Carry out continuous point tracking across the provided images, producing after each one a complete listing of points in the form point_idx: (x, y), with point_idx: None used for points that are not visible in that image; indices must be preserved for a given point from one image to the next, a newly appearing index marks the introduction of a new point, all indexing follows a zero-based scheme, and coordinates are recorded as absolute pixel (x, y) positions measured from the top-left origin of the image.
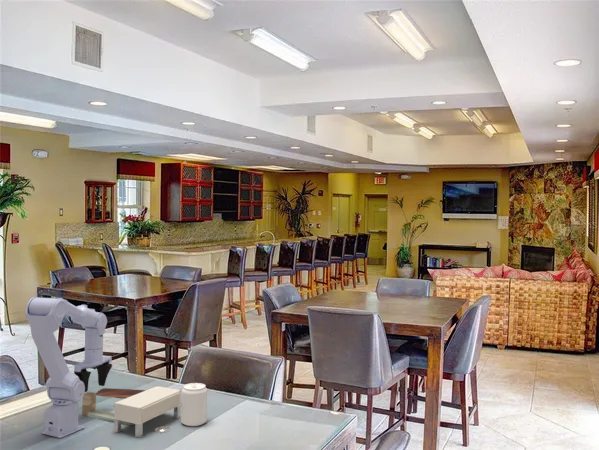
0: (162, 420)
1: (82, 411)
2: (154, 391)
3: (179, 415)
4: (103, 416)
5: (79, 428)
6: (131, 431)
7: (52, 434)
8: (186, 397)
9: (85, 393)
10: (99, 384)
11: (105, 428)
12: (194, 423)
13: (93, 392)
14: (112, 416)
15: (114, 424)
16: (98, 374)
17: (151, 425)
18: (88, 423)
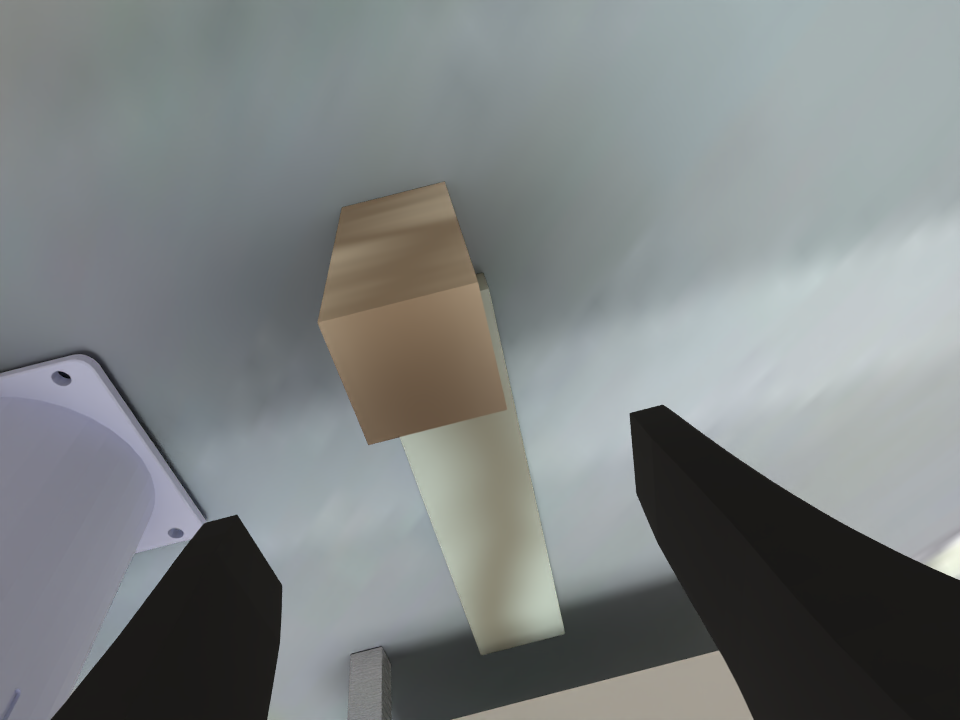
0: (662, 652)
1: (340, 223)
2: None
3: None
4: (420, 484)
5: (152, 545)
6: (433, 686)
7: None
8: None
9: (370, 331)
10: (636, 439)
11: (340, 591)
12: None
13: (493, 370)
14: (474, 521)
15: (349, 707)
16: (752, 563)
17: (568, 674)
18: (283, 452)
